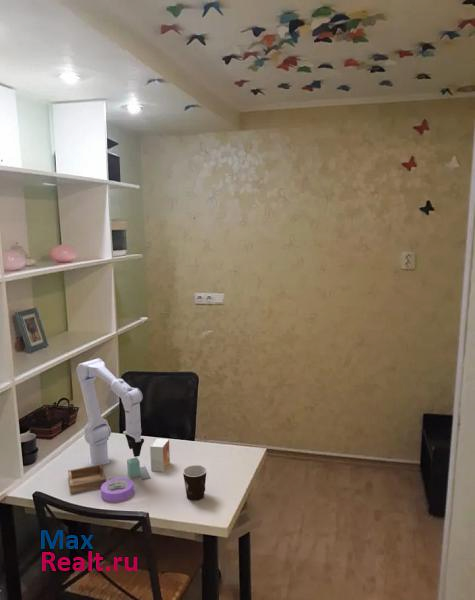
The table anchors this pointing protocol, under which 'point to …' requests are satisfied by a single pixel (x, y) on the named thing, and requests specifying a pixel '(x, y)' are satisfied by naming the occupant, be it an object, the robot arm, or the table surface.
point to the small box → (160, 454)
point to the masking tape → (116, 495)
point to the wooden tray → (86, 478)
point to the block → (133, 467)
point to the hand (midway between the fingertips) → (134, 452)
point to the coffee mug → (195, 482)
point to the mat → (144, 473)
